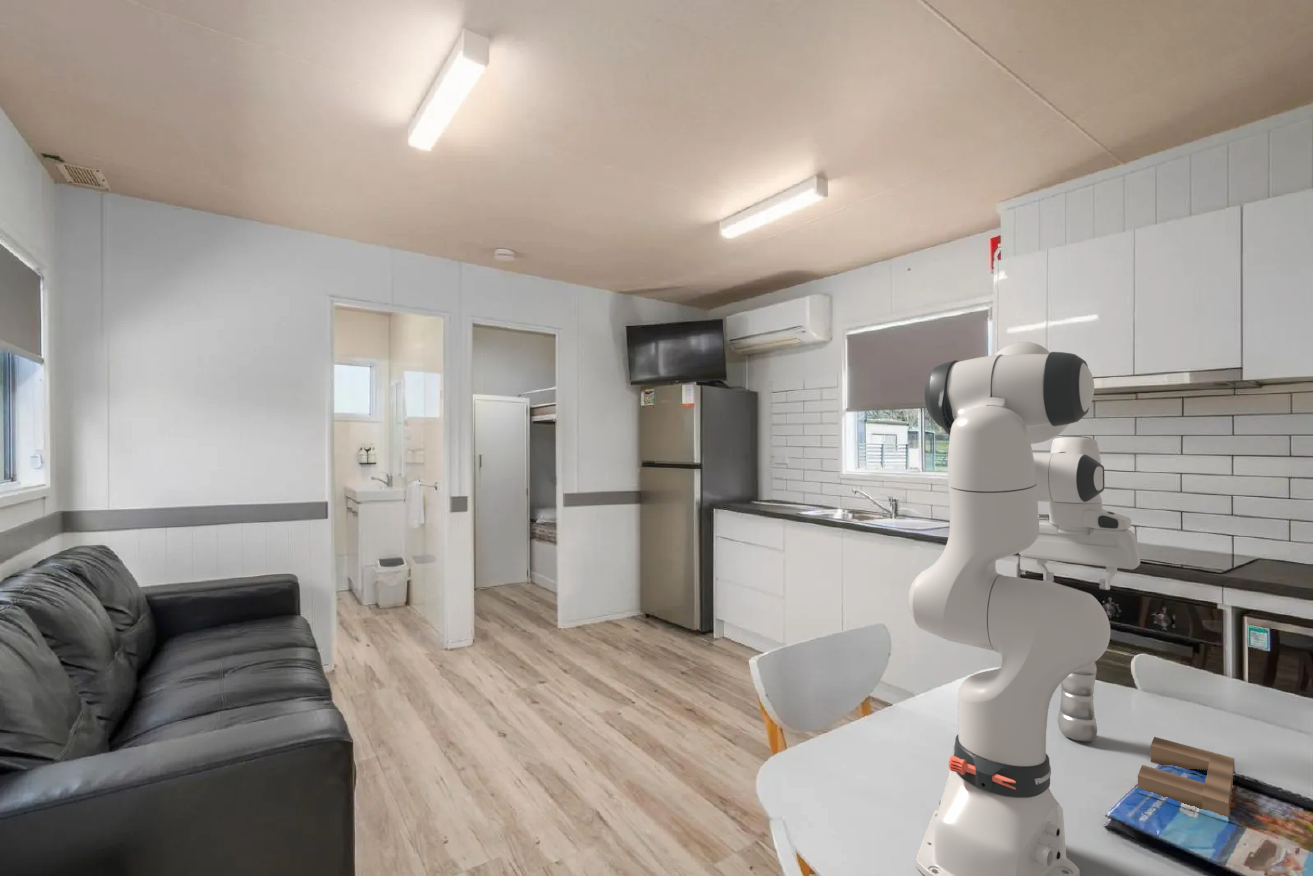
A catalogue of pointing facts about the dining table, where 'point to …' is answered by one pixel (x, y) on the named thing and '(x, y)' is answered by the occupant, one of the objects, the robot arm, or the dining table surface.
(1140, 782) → the notched board
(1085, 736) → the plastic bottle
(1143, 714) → the dining table surface
